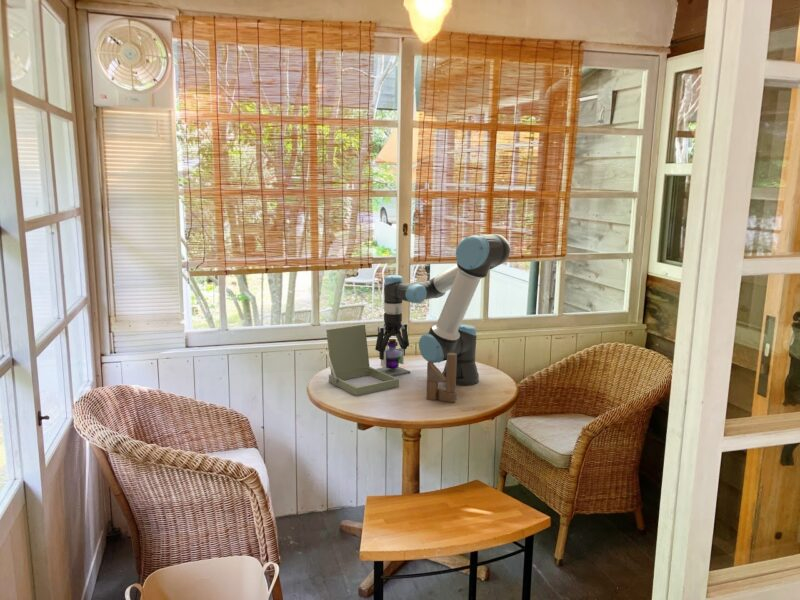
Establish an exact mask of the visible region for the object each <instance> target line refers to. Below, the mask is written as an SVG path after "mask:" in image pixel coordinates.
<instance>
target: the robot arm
mask: <svg viewBox="0 0 800 600" xmlns="http://www.w3.org/2000/svg"><path fill="white" fill-rule="evenodd" d="M510 254H511V247H510V243H509V241H508V239H506V237H504V236H502V235H501V234H497V233H491V234H489V233H488V234H473V235H469V236H465V237H464V238H462V239H461V240H460V241H459V243H458V244H457V247H456V250H455V256H456V258H455V260H456V262H457V263H456V264H455V265H452V266H451V267H450V268H448V269H446V270H445V271H443V272H441V273H440V274H437V275H436V276H435V277H433V278H430V279H428V280H424V281H417V282H406V281H404V280H403V276H401V275H398V274H388V275H386V276H385V277H384V282H383V283H384V284H383V288H384V289H383V290H384V291H383V294H384V295H383V301H384V302H383V304H384V305H383V311H384V314H383V322H384V324H383V326H381V327H380V326H379V327H377V339H376V343H375V348H374V349H375V351H376V352H379V355H378V357H379V360H380V367H381V368H383V367H384V368H385V367H386V352H384V351H385V349H387V347H388V346H387V343H388V342H389V339H391V338H392V336H394V335H395V337H396V341H397V343H398V345H399V347H398V349H399V350H401V351H402V356H401V357H402V359H401V361H400V362H399V365H400V364H401V365H404V364H405V363H404V362H405V361H404V360H405V359H404V358H405V355H406V350H407V348H408V347H410V342H409V336H408V324H406V323H402V320H403V313H402V312H403V302H406V303H407V302H409V303H412V304H422V303H423V302H424V301H426V300H430V299H431V300H432V299H438V298H441V297H443V296H445V294H446V292H448V291H449V293H448V295H447V297H446V301H445V302H444V305H443V307H442V309H441V313H440V314H439V317H438V320H437V321H434V322H433V323H432V324H431V326H430V327H429V330H428V333H424V334H423V335H421V337H420V338H419V341H418V348H419V352H420V354H421V356H422V358H423V359H424V360H425V361H426V362H427V363H428V362H429V361H430V360H431V361H432V362H433V364H437V363H438V364H439V363H441V362H444V361H445V364H444V368H443V371H442V372H441V373H442V374H443V375H444V376H445V377H446V370H447V353H456V354H457V366H456V386H470V385H474V384H477V383H478V382H479V381H480V374H479V372H478V368H477V363H476V350H477V337H478V335H477V328H476V327H475V326H473V325H470V324H466V323H465V324H464V323H463V320H464V318H465V315H466V314H467V312H468V309H469V306H470V304H471V302H472V300H473V297H474V295H475V292H476V290H477V288H478V285H479V283H480V281H481V279H484V278H486V277H487V276H488V273H489V271H490V270H492V269H493V270H494V269H495V268H496V267H498V266H500V265H502V264H504V263H505V262H506V261H507V260H508V259H509V257H510Z"/></svg>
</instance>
